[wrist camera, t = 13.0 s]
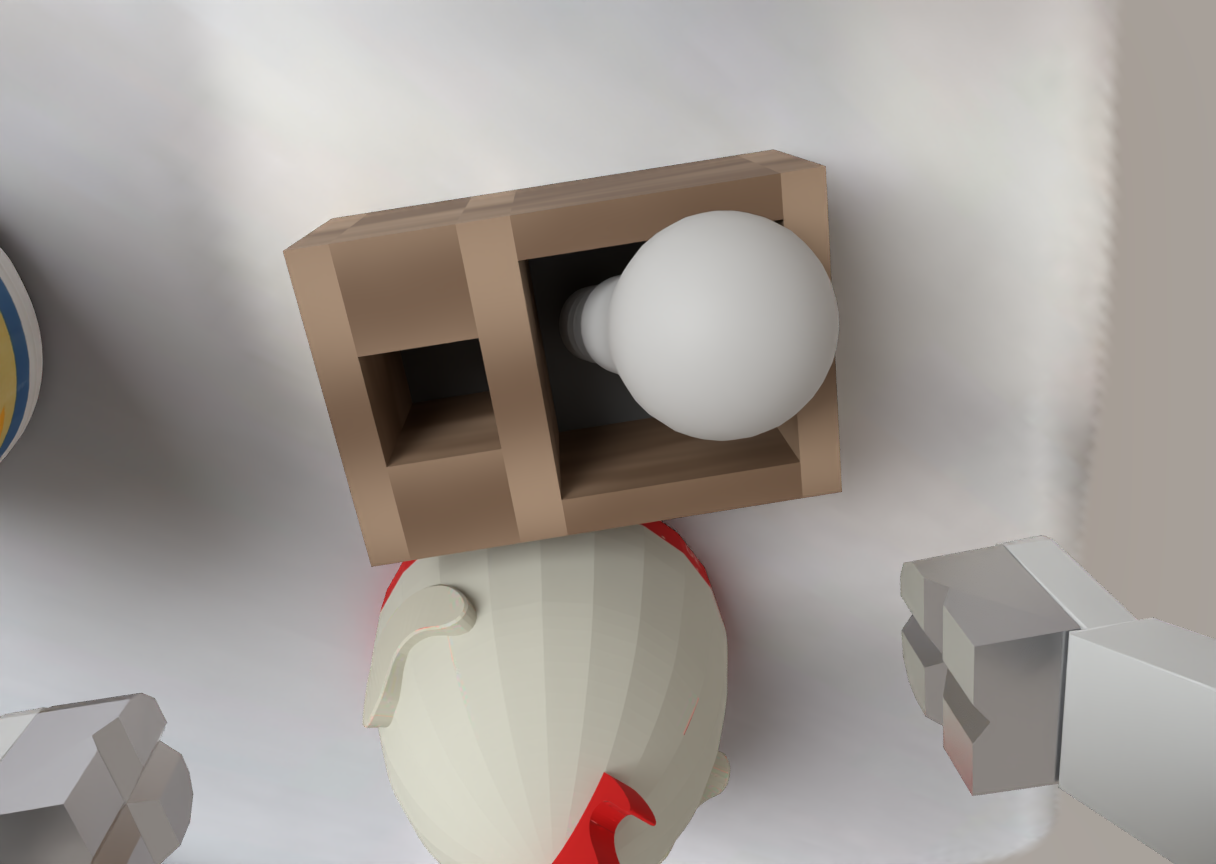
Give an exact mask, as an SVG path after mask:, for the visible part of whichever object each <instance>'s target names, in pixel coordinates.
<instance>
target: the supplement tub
mask: <svg viewBox="0 0 1216 864" xmlns="http://www.w3.org/2000/svg"><path fill="white" fill-rule="evenodd" d="M42 369H43V355H42V341H41V335H40V330H39V325H38V321H37V318H36V315H35V311H34V308H33V306H32V303H31V300H30V298H29V296H28V293H27V291H26V289H25V287H24V285H23V283H22V281H21V279H20V277H19V275H18V273H17V271H16V269H15V267H14V266H13V264H12V262H11V260H10V259H9V258H8V256H7V255H6V254H5V252H4V251H3V250H2V249H1V247H0V462H1V461H2V460H3V459H4V458H5V457H6V455H7V454H8V453H9V452H10V450H11V449H12V448H13V446H14V445H15V444H16V442H17V441H18V439H19V438H20V436H21V435H22V434H23V432H24V430H25V428H26V427H27V425H28V423H29V421H30V418H31V416H32V414H33V411H34V408H35V406H36V403H37V400H38V396H39V391H40V386H41V380H42Z"/></svg>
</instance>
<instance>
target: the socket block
mask: <svg viewBox="0 0 1216 864" xmlns="http://www.w3.org/2000/svg"><path fill="white" fill-rule="evenodd" d="M711 211H740V212H745V213H750V214H754V215H758V216H762V217H765V218H767V219H769V220H772V221H774V222H776V223H778V224H780V225H782V226H783V227H785V228H787V229H789V230H791V231H792V232H793V233H794V234H796V235H797V236H798V237H799V238H800V239H801V240H802V241H804V242H805V243H806V245H807V246H808V247H809V248H810V249H811V250H812V251H813V253H814V254H815V255H816V257H817V258H818V259H819V260H820V262H821V263H822V265H823V267H824V269H825V271H826V273H827V275H828V277H829V279H830V281H831V264H830V244H829V224H828V204H827V184H826V166H823V165H820V164H817V163H814V162H811V161H808V160H805V159H802V158H798V157H795V156H792V155H789V154H786V153H783V152H780V151H777V150H768V151H761V152H755V153H748V154H742V155H736V156H729V157H723V158H716V159H710V160H704V161H697V162H691V163H684V164H678V165H672V166H665V167H659V168H652V169H646V170H640V171H633V172H627V173H620V174H614V175H608V176H601V177H595V178H589V179H582V180H576V181H569V182H563V183H557V184H550V185H544V186H537V187H531V188H525V189H518V190H512V191H505V192H499V193H493V194H486V195H480V196H473V197H467V198H461V199H454V200H448V201H441V202H435V203H429V204H422V205H416V206H409V207H403V208H397V209H390V210H384V211H378V212H371V213H365V214H358V215H352V216H346V217H339V218H333V219H330V220H329V221H327V222H326V223H324V224H323V225H321V226H320V227H318V228H317V229H315V230H314V231H312V232H311V233H309V234H308V235H306V236H305V237H303V238H302V239H300V240H299V241H297V242H296V243H294V244H293V245H291V246H290V247H288V248H287V249H285V250H284V251H283V253H284V257H285V260H286V264H287V267H288V271H289V275H290V278H291V282H292V285H293V289H294V292H295V296H296V299H297V303H298V307H299V310H300V314H301V317H302V321H303V324H304V328H305V332H306V335H307V339H308V342H309V346H310V349H311V353H312V356H313V360H314V364H315V367H316V371H317V374H318V378H319V381H320V385H321V389H322V392H323V396H324V399H325V403H326V406H327V410H328V413H329V417H330V421H331V424H332V428H333V431H334V435H335V438H336V442H337V446H338V449H339V453H340V456H341V460H342V463H343V467H344V470H345V474H346V478H347V481H348V485H349V488H350V492H351V495H352V499H353V503H354V506H355V510H356V513H357V517H358V520H359V524H360V527H361V531H362V535H363V538H364V542H365V545H366V549H367V552H368V556H369V560H370V563H371V567H373V566H379V565H385V564H392V563H398V562H404V561H411V560H417V559H423V558H429V557H436V556H442V555H448V554H455V553H461V552H467V551H473V550H480V549H486V548H492V547H498V546H505V545H511V544H517V543H524V542H530V541H536V540H542V539H549V538H555V537H561V536H567V535H574V534H580V533H586V532H593V531H599V530H605V529H611V528H618V527H624V526H630V525H637V524H643V523H649V522H655V521H662V520H668V519H674V518H680V517H687V516H693V515H699V514H706V513H712V512H718V511H724V510H731V509H737V508H743V507H749V506H756V505H762V504H768V503H775V502H781V501H787V500H793V499H800V498H806V497H812V496H818V495H825V494H831V493H837V492H842V484H841V464H840V444H839V424H838V404H837V384H836V364H835V356H834V359H833V362H832V365H831V367H830V369H829V371H828V373H827V375H826V377H825V379H824V381H823V383H822V385H821V386H820V388H819V389H818V391H817V392H816V394H815V395H814V397H813V398H812V399H811V400H810V401H809V402H808V403H807V404H806V405H805V406H804V407H803V408H802V409H801V410H800V411H799V412H798V413H797V414H796V415H794V416H793V417H792V418H790V419H789V420H787V421H786V422H785V423H783V424H782V425H780V426H778V427H776V428H773V429H771V430H769V431H766V432H764V433H761V434H758V435H756V436H753V437H748V438H742V439H736V440H727V441H716V440H704V439H700V438H695V437H691V436H688V435H685V434H682V433H679V432H676V431H674V430H673V429H671V428H670V427H668V426H667V425H665V424H663V423H662V422H660V421H659V420H657V419H656V418H654V417H653V416H651V415H649V414H648V413H647V412H646V411H645V410H644V409H643V408H642V407H641V406H640V405H639V404H638V403H637V402H636V401H635V399H634V398H633V396H632V395H631V393H630V392H629V390H628V389H627V387H626V386H625V384H624V382H623V381H622V379H621V377H620V376H619V374H616V373H613V372H610V371H607V370H606V369H604V368H603V367H601V366H599V365H598V364H597V363H592V362H589V361H586V360H582V359H580V358H577V357H576V356H574V355H573V354H572V353H571V352H570V351H569V350H568V349H567V348H566V346H565V345H564V343H563V341H562V338H561V335H560V331H559V318H560V313H561V310H562V307H563V305H564V303H565V301H566V300H567V299H568V298H569V296H570V295H572V294H573V293H574V292H575V291H577V290H579V289H582V288H585V287H588V286H593V285H598V284H600V283H602V282H603V281H605V280H607V279H608V278H610V277H614V276H617V275H622V273H623V271H624V270H625V268H626V267H627V265H628V264H629V262H630V261H631V259H632V258H633V257H634V255H635V254H636V253H637V252H638V250H639V249H640V248H641V246H642V245H643V244H645V243H646V242H647V241H648V240H649V239H650V238H652V237H653V236H654V235H655V234H656V233H658V232H660V231H661V230H663V229H665V228H666V227H668V226H670V225H672V224H674V223H676V222H677V221H679V220H681V219H683V218H685V217H688V216H692V215H696V214H700V213H704V212H711Z"/></svg>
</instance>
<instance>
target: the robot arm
mask: <svg viewBox="0 0 1216 864" xmlns="http://www.w3.org/2000/svg"><path fill="white" fill-rule="evenodd" d="M900 582H901V597H902V599H903V600H904V602H905V603H906V605H907V606H908V608H909V609H910V611H911V613H912V616H911V617H910V619H909V620H908V622H907V623H906V624H905V626H904V627H903V629H902V647H903V658H904V662H905V667H906V671H907V676H908V680H909V683H910V685H911V688H912V690H913V693H914V695H915V698H916V700H917V702H918V704H919V705H920V707H921V709H922V711H923V713H924V714H925V716H926V717H928V718H930V719H931V720H933V721H935V722H937V723H939V724H941V725H943V747H944V749H945V751H946V752H947V754H948V756H949V757H950V759H951V761H952V762H953V764H954V766H955V767H956V769H957V771H958V772H959V774H960V776H961V778H962V779H963V781H964V783H965V784H966V786H967V788H968V789H969V791H970V793H971V794H972V796H976V795H983V794H990V793H997V792H1004V791H1011V790H1018V789H1025V788H1032V787H1038V786H1045V785H1052V784H1059V787H1058V788H1060V789H1061V790H1063V791H1064V792H1066V793H1067V794H1069V795H1070V796H1072V797H1073V798H1075V799H1076V800H1078V801H1079V802H1081V803H1083V804H1084V805H1086V806H1087V807H1089V808H1090V809H1092V810H1093V811H1095V812H1096V813H1098V814H1100V815H1101V816H1103V817H1104V818H1105V819H1107V820H1109V821H1110V822H1112V823H1113V824H1114V825H1116V826H1118V827H1119V828H1121V829H1122V830H1124V831H1125V832H1127V833H1128V834H1130V835H1131V836H1133V837H1134V838H1136V839H1137V840H1139V841H1141V842H1142V843H1143V844H1145V845H1146V846H1148V847H1150V848H1151V849H1153V850H1154V851H1156V852H1157V853H1159V854H1160V855H1162V856H1163V857H1165V858H1166V859H1168V860H1169V861H1171V862H1172V863H1174V864H1216V639H1215V638H1212V637H1209V636H1206V635H1203V634H1200V633H1197V632H1194V631H1192V630H1189V629H1186V628H1183V627H1180V626H1177V625H1174V624H1171V623H1168V622H1165V621H1162V620H1160V619H1157V618H1147V619H1141V620H1138V619H1137V618H1136V617H1135V616H1134V615H1132V614H1131V612H1129V611H1128V610H1127V609H1126V608H1125V607H1124V606H1123V605H1122V604H1121V603H1120V602H1119V601H1118V600H1117V599H1116V598H1115V597H1114V596H1113V595H1111V594H1110V593H1109V592H1108V591H1107V590H1106V589H1105V588H1104V587H1103V586H1102V585H1101V584H1100V583H1099V582H1098V581H1097V580H1095V579H1094V578H1093V577H1092V576H1091V575H1090V574H1089V573H1088V572H1087V571H1086V570H1085V569H1084V568H1083V567H1082V566H1081V565H1079V564H1078V563H1077V562H1076V561H1075V560H1074V559H1073V558H1072V557H1071V556H1070V555H1069V554H1068V553H1067V552H1066V551H1065V550H1063V549H1062V548H1061V547H1060V546H1059V545H1058V544H1057V543H1056V542H1055V541H1054V540H1053V539H1051V538H1048V537H1045V536H1042V535H1040V536H1035V537H1030V538H1025V539H1020V540H1015V541H1010V542H1006V543H1001V544H996V545H995V546H991V547H985V548H980V549H975V550H969V551H964V552H959V553H953V554H948V555H943V556H937V557H932V558H927V559H921V560H916V561H911V562H905V563H903V567H902V571H901V576H900ZM166 724H167V721H166V719H165V717H164V715H163V713H162V711H161V709H160V707H159V705H158V703H157V702H156V700H155V698H153V697H151V696H148V695H146V694H143V693H136V694H130V695H123V696H116V697H110V698H103V699H96V700H90V701H83V702H77V703H70V704H63V705H57V706H52V707H49V708H37V709H32V710H26V711H20V712H15V713H9V714H5V715H3V716H0V864H160V863H162V862H163V861H164V860H165V859H166V858H167V857H168V856H169V855H170V854H171V853H173V852H174V851H175V850H176V849H177V848H178V847H179V846H180V845H181V843H182V840H183V838H184V835H185V833H186V831H187V828H188V826H189V823H190V818H191V809H192V800H193V790H192V785H191V779H190V773H189V770H188V768H187V766H186V763H185V761H184V759H183V756H182V754H180V753H179V752H177V751H176V750H174V749H172V748H171V747H169V746H168V745H166V744H165V743H163V742H162V741H160V739H161V737H162V734H163V731H164V729H165V726H166Z"/></svg>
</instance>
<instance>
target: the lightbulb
mask: <svg viewBox="0 0 1216 864" xmlns="http://www.w3.org/2000/svg"><path fill="white" fill-rule="evenodd" d="M559 331H560V335H561V338H562V341H563V343H564V345H565V346H566V348H567V349H568V350H569V351H570V352H571V353H572V354H573V355H574V356H576V357H577V358H580V359H582V360H586V361H589V362H592V363H597V364H598V365H599V366H601V367H603V368H604V369H606V370H607V371H610V372H613V373H616V374H619V376H620V377H621V379H622V381H623V382H624V384H625V386H626V387H627V389H628V390H629V392H630V393H631V395H632V396H633V398H634V399H635V401H636V402H637V403H638V404H639V405H640V406H641V407H642V408H643V409H644V410H645V411H646V412H647V413H648V414H649V415H651V416H653V417H654V418H656V419H657V420H659V421H660V422H662V423H663V424H665V425H667V426H668V427H670V428H671V429H673V430H674V431H676V432H679V433H682V434H685V435H688V436H691V437H695V438H700V439H704V440H716V441H727V440H736V439H742V438H748V437H753V436H756V435H758V434H761V433H764V432H766V431H769V430H771V429H773V428H776V427H778V426H780V425H782V424H783V423H785V422H786V421H787V420H789V419H790V418H792V417H793V416H794V415H796V414H797V413H798V412H799V411H800V410H801V409H802V408H803V407H804V406H805V405H806V404H807V403H808V402H809V401H810V400H811V399H812V398H813V397H814V395H815V394H816V392H817V391H818V389H819V388H820V386H821V385H822V383H823V381H824V379H825V377H826V375H827V373H828V371H829V369H830V367H831V365H832V362H833V359H834V356H835V352H836V349H837V343H838V336H839V312H838V305H837V300H836V296H835V293H834V290H833V287H832V284H831V281H830V279H829V277H828V275H827V273H826V271H825V269H824V267H823V265H822V263H821V262H820V260H819V259H818V258H817V257H816V255H815V254H814V253H813V251H812V250H811V249H810V248H809V247H808V246H807V245H806V243H805V242H804V241H802V240H801V239H800V238H799V237H798V236H797V235H796V234H794V233H793V232H792V231H791V230H789V229H787V228H785V227H783V226H782V225H780V224H778V223H776V222H774V221H772V220H769V219H767V218H765V217H762V216H758V215H754V214H750V213H745V212H740V211H711V212H704V213H700V214H696V215H692V216H688V217H685V218H683V219H681V220H679V221H677V222H676V223H674V224H672V225H670V226H668V227H666V228H665V229H663V230H661V231H660V232H658V233H656V234H655V235H654V236H653V237H652V238H650V239H649V240H648V241H647V242H646V243H645V244H643V245H642V246H641V248H640V249H639V250H638V252H637V253H636V254H635V255H634V257H633V258H632V259H631V261H630V262H629V264H628V265H627V267H626V268H625V270H624V271H623V273H622V275H617V276H614V277H610V278H608V279H607V280H605V281H603V282H602V283H600V284H598V285H593V286H588V287H585V288H582V289H579V290H577V291H575V292H574V293H573V294H572V295H570V296H569V298H568V299H567V300H566V301H565V303H564V305H563V307H562V310H561V313H560V318H559Z"/></svg>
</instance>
